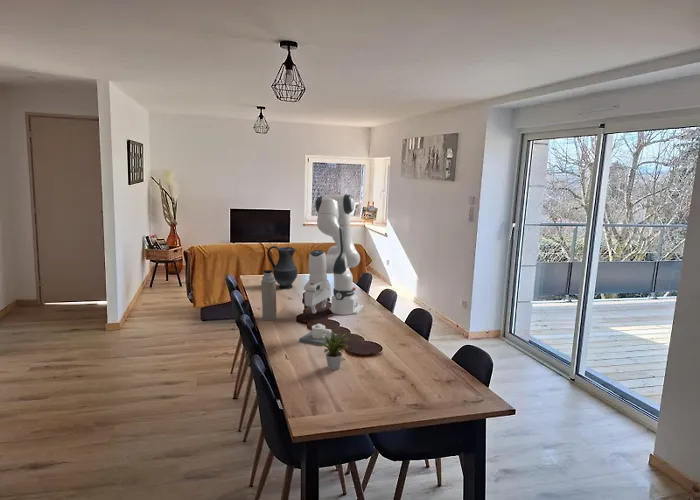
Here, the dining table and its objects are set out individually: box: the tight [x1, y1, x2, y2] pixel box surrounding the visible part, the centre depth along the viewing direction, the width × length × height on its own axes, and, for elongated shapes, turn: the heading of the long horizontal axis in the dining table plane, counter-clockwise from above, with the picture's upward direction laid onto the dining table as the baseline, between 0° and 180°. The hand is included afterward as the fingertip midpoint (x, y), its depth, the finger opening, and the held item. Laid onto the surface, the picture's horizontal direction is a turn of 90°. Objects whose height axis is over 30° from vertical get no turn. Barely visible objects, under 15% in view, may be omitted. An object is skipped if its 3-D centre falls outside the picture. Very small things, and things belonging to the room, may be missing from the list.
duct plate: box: [298, 323, 339, 347], centre depth 244 cm, size 14×14×8 cm
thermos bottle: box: [260, 269, 278, 321], centre depth 275 cm, size 8×8×28 cm
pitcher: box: [266, 245, 298, 290], centre depth 343 cm, size 17×21×30 cm
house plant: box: [320, 330, 349, 371], centre depth 208 cm, size 14×14×16 cm
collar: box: [311, 324, 332, 339], centre depth 243 cm, size 10×6×5 cm, turn 63°
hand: (319, 310), depth 242 cm, fingers open, 8 cm apart
